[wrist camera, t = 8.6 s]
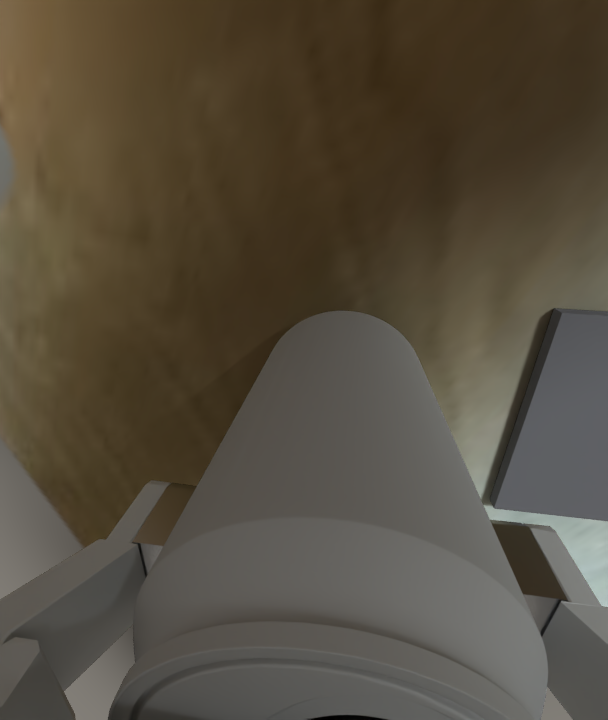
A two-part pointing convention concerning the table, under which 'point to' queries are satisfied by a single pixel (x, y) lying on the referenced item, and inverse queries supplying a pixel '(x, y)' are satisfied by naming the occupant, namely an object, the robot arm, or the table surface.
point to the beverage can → (335, 558)
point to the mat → (562, 425)
